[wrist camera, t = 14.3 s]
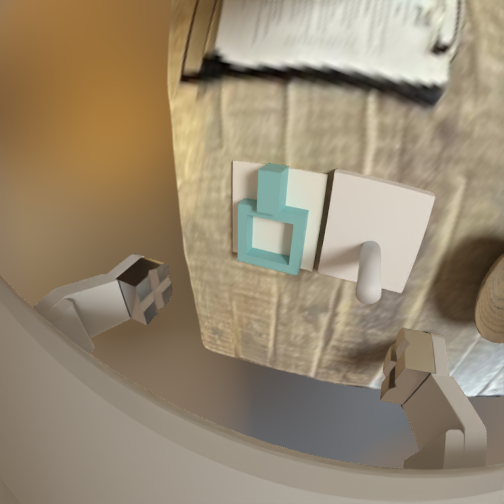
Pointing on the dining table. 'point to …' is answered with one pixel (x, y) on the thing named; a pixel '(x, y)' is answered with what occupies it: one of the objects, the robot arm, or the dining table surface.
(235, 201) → the mat
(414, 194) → the post stand
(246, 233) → the teal square ring handle
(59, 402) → the robot arm
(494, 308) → the bowl
